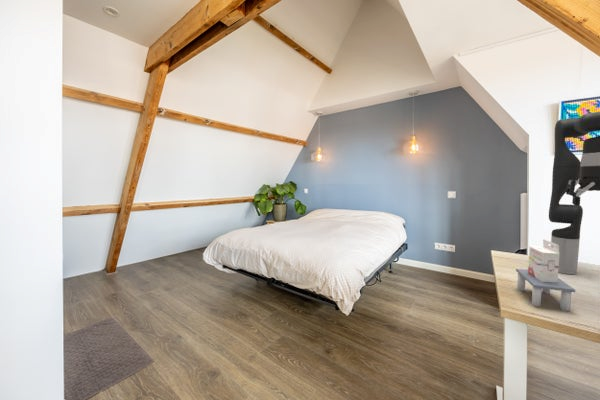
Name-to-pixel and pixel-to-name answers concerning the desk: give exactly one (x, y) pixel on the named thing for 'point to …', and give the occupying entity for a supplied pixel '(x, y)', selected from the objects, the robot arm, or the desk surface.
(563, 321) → the desk surface
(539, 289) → the grey toy table
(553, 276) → the ink cartridge box
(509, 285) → the desk surface
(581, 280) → the desk surface
